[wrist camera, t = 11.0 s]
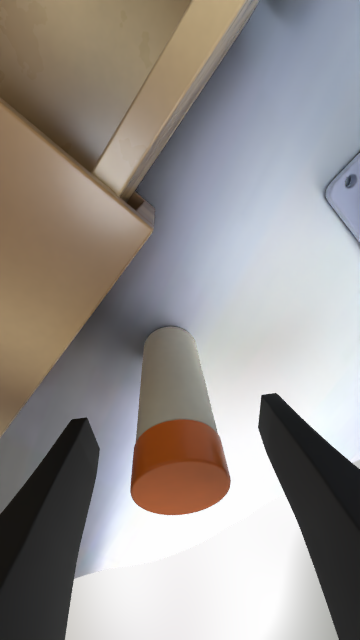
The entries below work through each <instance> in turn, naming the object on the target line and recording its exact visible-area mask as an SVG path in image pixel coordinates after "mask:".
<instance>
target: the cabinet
mask: <svg viewBox="0 0 360 640" xmlns="http://www.w3.org/2000/svg"><path fill="white" fill-rule="evenodd" d="M154 219H155V208H154V207H153V206H151V205H150V204H149V203H148V202H147V201H146V200H145V199H143V198H142V197H141V196H140V195H139V194H138V193H137V192H135V191H134V193H133V194H132V196H131V197H130V199H129V200H128V202H127V203H126V202H125V201H123V200H122V199H121V198H120V197H119V196H118V195H116V194H115V193H114V192H113V191H112V190H110V189H109V188H108V187H107V186H106V185H104V184H103V183H102V182H101V181H100V180H98V179H97V178H96V177H95V176H94V175H92V174H91V173H90V172H89V171H88V170H87V169H85V168H84V167H83V166H82V165H81V164H79V163H78V162H77V161H76V160H75V159H73V158H72V157H71V156H70V155H69V154H67V153H66V152H65V151H64V150H63V149H62V148H60V147H59V146H58V145H57V144H56V143H54V142H53V141H52V140H51V139H50V138H48V137H47V136H46V135H45V134H44V133H42V132H41V131H40V130H39V129H38V128H36V127H35V126H34V125H33V124H32V123H31V122H29V121H28V120H27V119H26V118H25V117H23V116H22V115H21V114H20V113H19V112H17V111H16V110H15V109H14V108H13V107H11V106H10V105H9V104H8V103H7V102H5V101H4V100H3V99H2V98H1V97H0V438H1V436H2V435H3V434H4V432H5V431H6V430H7V428H8V427H9V425H10V424H11V423H12V421H13V420H14V419H15V417H16V416H17V415H18V413H19V412H20V411H21V409H22V408H23V407H24V405H25V404H26V403H27V401H28V400H29V398H30V397H31V396H32V394H33V393H34V392H35V390H36V389H37V388H38V386H39V385H40V384H41V382H42V381H43V380H44V378H45V377H46V376H47V374H48V373H49V371H50V370H51V369H52V367H53V366H54V365H55V363H56V362H57V361H58V359H59V358H60V357H61V355H62V354H63V353H64V351H65V350H66V349H67V347H68V346H69V345H70V343H71V342H72V340H73V339H74V338H75V336H76V335H77V334H78V332H79V331H80V330H81V328H82V327H83V326H84V324H85V323H86V322H87V320H88V319H89V318H90V316H91V315H92V313H93V312H94V311H95V309H96V308H97V307H98V305H99V304H100V303H101V301H102V300H103V299H104V297H105V296H106V295H107V293H108V292H109V291H110V289H111V288H112V286H113V285H114V284H115V282H116V281H117V280H118V278H119V277H120V276H121V274H122V273H123V272H124V270H125V269H126V268H127V266H128V265H129V264H130V262H131V261H132V259H133V258H134V257H135V255H136V254H137V253H138V251H139V250H140V249H141V247H142V246H143V245H144V243H145V242H146V241H147V239H148V238H149V237H150V235H151V234H152V233H153V229H154Z"/></svg>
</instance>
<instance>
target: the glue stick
mask: <svg viewBox="0 0 360 640" xmlns="http://www.w3.org/2000/svg"><path fill="white" fill-rule="evenodd" d="M229 488H230V475H229V471H228V467H227V463H226V459H225V455H224V451H223V447H222V443H221V440H220V437H219V435H218V433H217V429H216V425H215V420H214V416H213V412H212V408H211V404H210V400H209V396H208V392H207V388H206V384H205V380H204V376H203V372H202V368H201V364H200V360H199V356H198V351H197V347H196V343H195V340H194V338H193V337H192V335H191V334H190V333H188V332H187V331H185V330H184V329H181V328H178V327H163V328H160V329H158V330H156V331H154V332H153V333H151V334H150V335H149V336H148V338H147V339H146V341H145V344H144V351H143V363H142V375H141V387H140V399H139V411H138V423H137V435H136V444H135V447H134V454H133V466H132V477H131V490H130V492H131V496H132V498H133V500H134V502H135V503H136V504H137V505H138V506H140V507H141V508H143V509H145V510H147V511H150V512H153V513H157V514H164V515H181V514H189V513H193V512H197V511H200V510H203V509H206V508H208V507H210V506H212V505H214V504H216V503H217V502H219V501H220V500H221V499H222V498H223V497H224V496H225V495H226V494H227V492H228V490H229Z"/></svg>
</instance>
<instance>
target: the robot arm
mask: <svg viewBox="0 0 360 640" xmlns="http://www.w3.org/2000/svg"><path fill="white" fill-rule="evenodd" d="M348 176H350V177H351V181H350V184H349V185H348V186H347V187H346V185H345V181H346V179H347V177H348ZM326 198H327V200H328V202H329V203H330V204H331V206H332V207H333V208H334V210H335V211H336V212H337V214H338V215H339V216H340V217H341V219H342V220H343V221H344V223H345V224H346V225H347V227H348V228H349V229H350V231H351V232H352V233H353V235H354V236H355V237H356V238H357V240H358V241H359V242H360V153H359V154H358V155H357V156H356V157H355V158H354V159H353V160H352V161H351V162H350V163H349V164H348V165H347V166H346V167H345V168H344V169H343V170H342V171H341V172H340V174H339V175H338V176H337V177H336V178H335V179H334V180H333V181H332V182H331V183H330V184H329V186H328V187H327V190H326ZM258 428H259V431H260V435H261V438H262V441H263V444H264V447H265V450H266V452H267V455H268V457H269V459H270V462H271V464H272V466H273V468H274V471H275V473H276V475H277V477H278V479H279V482H280V484H281V486H282V488H283V490H284V493H285V495H286V497H287V499H288V501H289V503H290V506H291V508H292V510H293V512H294V514H295V517H296V519H297V522H298V524H299V527H300V529H301V532H302V535H303V537H304V540H305V542H306V545H307V548H308V551H309V554H310V556H311V559H312V562H313V565H314V568H315V571H316V573H317V576H318V579H319V582H320V585H321V588H322V591H323V593H324V596H325V599H326V602H327V605H328V608H329V611H330V614H331V617H332V620H333V623H334V626H335V629H336V632H337V635H338V638H339V640H360V469H359V468H357V467H356V466H355V465H354V464H353V463H351V462H350V461H349V460H348V459H347V458H345V457H344V456H343V455H342V454H341V453H339V452H338V451H337V450H336V449H335V448H334V447H333V446H331V445H330V444H329V443H328V442H327V441H326V440H325V439H324V438H322V437H321V436H320V435H319V434H318V433H317V432H316V431H315V430H314V429H313V428H312V427H310V426H309V425H308V424H307V423H306V422H305V421H304V420H303V419H302V418H301V417H300V416H299V415H298V414H297V413H296V412H295V411H294V410H293V409H292V408H291V407H290V406H289V405H288V404H287V403H286V402H285V401H284V400H283V399H282V398H281V397H280V396H279V395H278V394H277V393H273V394H266V395H262V396H261V405H260V415H259V425H258ZM99 450H100V448H99V446H98V443H97V441H96V438H95V436H94V434H93V431H92V429H91V426H90V424H89V421H88V419H87V418H80V419H72V420H71V421H70V422H69V424H68V425H67V427H66V428H65V430H64V431H63V432H62V434H61V435H60V437H59V438H58V439H57V441H56V442H55V444H54V445H53V446H52V448H51V449H50V451H49V452H48V453H47V455H46V456H45V458H44V459H43V460H42V462H41V463H40V464H39V466H38V467H37V468H36V470H35V471H34V472H33V474H32V475H31V476H30V478H29V479H28V480H27V482H26V483H25V484H24V486H23V487H22V488H21V489H20V491H19V492H18V493H17V494H16V496H15V497H14V498H13V499H12V501H11V502H10V503H9V504H8V506H7V507H6V508H5V509H4V511H3V512H2V513H1V514H0V640H65V634H66V627H67V620H68V613H69V607H70V600H71V593H72V587H73V581H74V574H75V568H76V562H77V557H78V552H79V547H80V543H81V539H82V534H83V530H84V526H85V522H86V518H87V513H88V509H89V505H90V501H91V497H92V492H93V488H94V484H95V479H96V474H97V467H98V459H99Z"/></svg>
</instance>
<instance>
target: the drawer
mask: <svg viewBox="0 0 360 640" xmlns="http://www.w3.org/2000/svg"><path fill="white" fill-rule="evenodd" d="M258 2H259V0H0V97H1V98H2V99H3V100H4V101H5V102H7V103H8V104H9V105H10V106H11V107H13V108H14V109H15V110H16V111H17V112H19V113H20V114H21V115H22V116H23V117H25V118H26V119H27V120H28V121H29V122H31V123H32V124H33V125H34V126H35V127H36V128H38V129H39V130H40V131H41V132H42V133H44V134H45V135H46V136H47V137H48V138H50V139H51V140H52V141H53V142H54V143H56V144H57V145H58V146H59V147H60V148H62V149H63V150H64V151H65V152H66V153H67V154H69V155H70V156H71V157H72V158H73V159H75V160H76V161H77V162H78V163H79V164H81V165H82V166H83V167H84V168H85V169H87V170H88V171H89V172H90V173H91V174H92V175H94V176H95V177H96V178H97V179H98V180H100V181H101V182H102V183H103V184H104V185H106V186H107V187H108V188H109V189H110V190H112V191H113V192H114V193H115V194H116V195H118V196H119V197H120V198H121V199H122V200H123V201H125V202H126V203H127V202H128V200H129V199H130V197H131V196H132V194H133V193H134V191H135V190H136V188H137V187H138V185H139V184H140V182H141V181H142V179H143V178H144V176H145V175H146V173H147V172H148V170H149V169H150V167H151V166H152V164H153V163H154V161H155V160H156V158H157V157H158V155H159V154H160V152H161V151H162V149H163V148H164V146H165V145H166V143H167V142H168V140H169V139H170V137H171V136H172V134H173V133H174V131H175V130H176V128H177V127H178V125H179V124H180V122H181V121H182V119H183V118H184V116H185V115H186V113H187V112H188V110H189V109H190V107H191V106H192V104H193V103H194V101H195V100H196V98H197V97H198V95H199V94H200V92H201V91H202V89H203V88H204V86H205V85H206V83H207V82H208V80H209V79H210V77H211V76H212V74H213V73H214V71H215V70H216V68H217V67H218V65H219V64H220V62H221V61H222V59H223V58H224V56H225V55H226V53H227V52H228V50H229V49H230V47H231V46H232V44H233V43H234V41H235V40H236V38H237V37H238V35H239V34H240V32H241V31H242V29H243V28H244V26H245V25H246V23H247V22H248V20H249V19H250V17H251V15H252V13H253V11H254V10H255V8H256V6H257V4H258Z"/></svg>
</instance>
